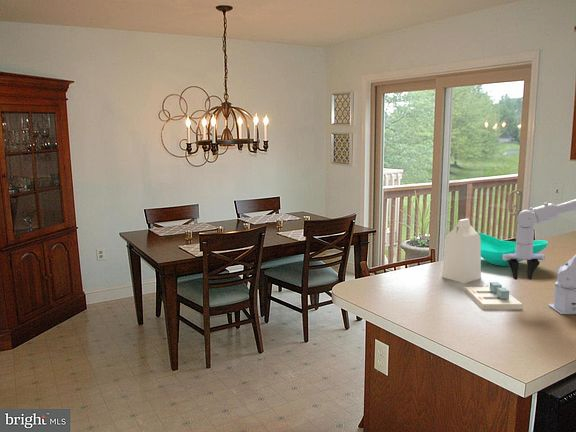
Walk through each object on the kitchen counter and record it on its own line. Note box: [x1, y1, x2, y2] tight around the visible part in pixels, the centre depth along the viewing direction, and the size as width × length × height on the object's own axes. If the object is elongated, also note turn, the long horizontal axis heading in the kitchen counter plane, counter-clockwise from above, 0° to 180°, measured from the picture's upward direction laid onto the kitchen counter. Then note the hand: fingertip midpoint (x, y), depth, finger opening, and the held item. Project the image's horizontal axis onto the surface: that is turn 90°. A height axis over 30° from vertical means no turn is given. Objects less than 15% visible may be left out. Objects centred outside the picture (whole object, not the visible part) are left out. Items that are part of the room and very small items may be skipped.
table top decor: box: [476, 231, 549, 267], centre depth 236 cm, size 40×28×13 cm
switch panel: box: [464, 286, 523, 310], centre depth 186 cm, size 20×14×2 cm
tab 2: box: [497, 287, 510, 299], centre depth 182 cm, size 4×3×3 cm
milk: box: [441, 218, 482, 284], centre depth 214 cm, size 12×12×26 cm
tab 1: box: [489, 281, 503, 293], centre depth 189 cm, size 4×3×3 cm
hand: (522, 278), depth 181 cm, fingers open, 5 cm apart
